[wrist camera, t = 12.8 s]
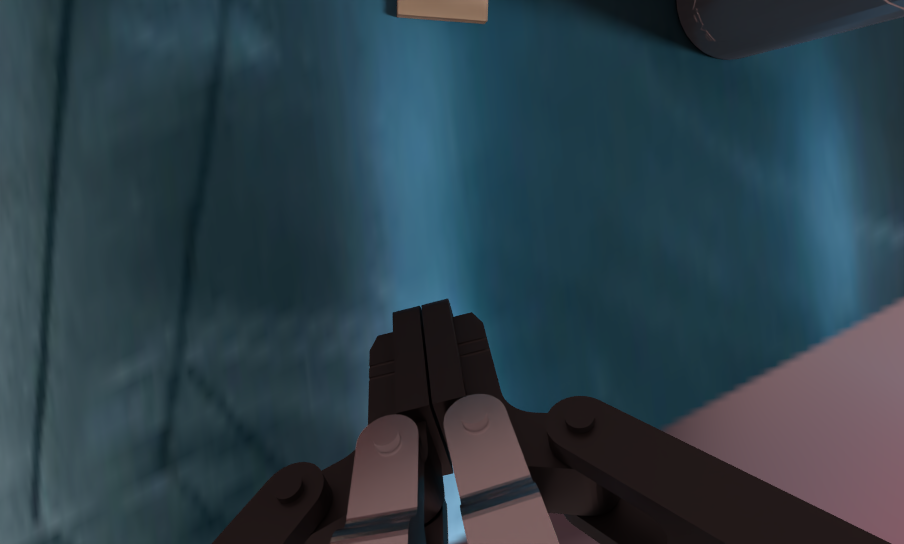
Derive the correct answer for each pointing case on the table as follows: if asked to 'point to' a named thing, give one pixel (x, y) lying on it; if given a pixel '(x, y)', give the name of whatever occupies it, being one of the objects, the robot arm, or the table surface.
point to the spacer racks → (444, 10)
